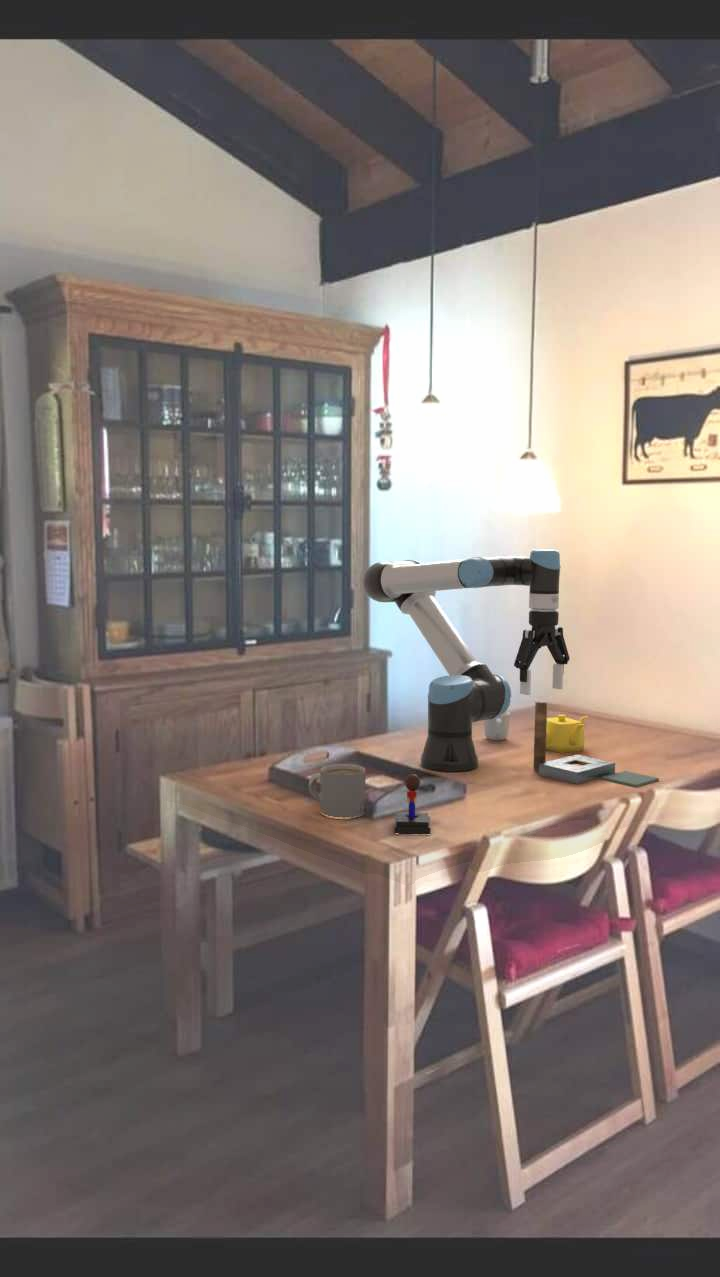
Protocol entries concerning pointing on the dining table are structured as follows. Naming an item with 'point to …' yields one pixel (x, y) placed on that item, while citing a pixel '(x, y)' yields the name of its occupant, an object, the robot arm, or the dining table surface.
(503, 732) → the cup
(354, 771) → the coffee mug
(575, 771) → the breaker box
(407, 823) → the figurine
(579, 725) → the teapot
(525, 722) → the dining table surface
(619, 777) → the coaster
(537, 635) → the robot arm
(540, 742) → the brown wooden block
